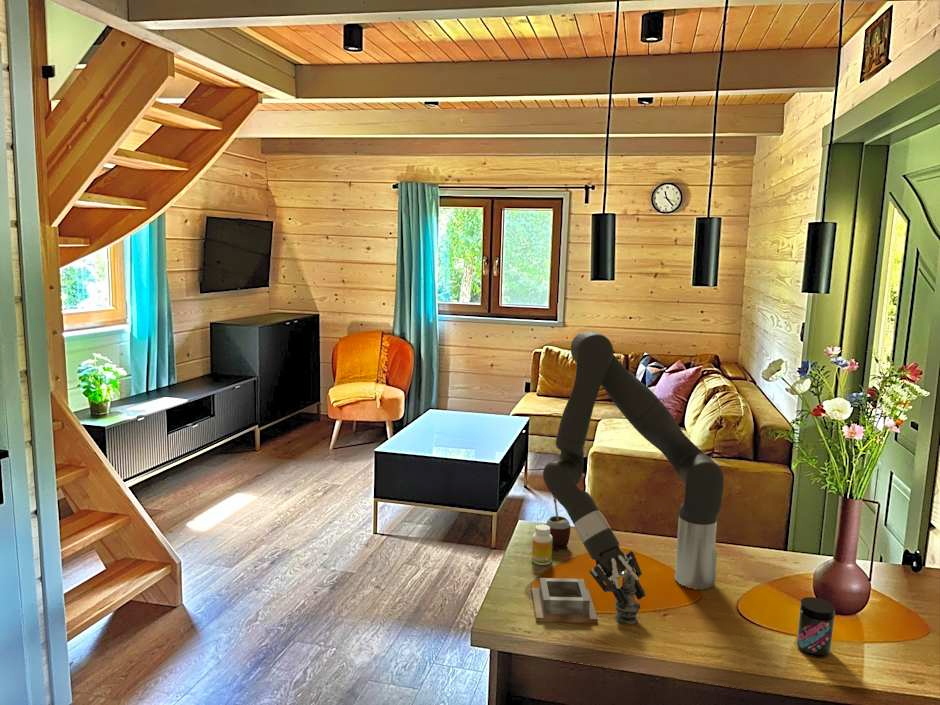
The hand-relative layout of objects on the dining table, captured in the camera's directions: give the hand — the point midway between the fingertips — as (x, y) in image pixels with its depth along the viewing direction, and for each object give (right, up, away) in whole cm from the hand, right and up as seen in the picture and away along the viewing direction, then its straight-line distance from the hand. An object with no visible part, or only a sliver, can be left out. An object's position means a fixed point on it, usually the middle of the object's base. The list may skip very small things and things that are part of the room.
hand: (634, 601), depth 165 cm
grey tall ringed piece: (-1, -5, +2) cm, 6 cm away
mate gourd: (-13, +2, +41) cm, 43 cm away
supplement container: (+37, -8, -9) cm, 38 cm away
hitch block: (-15, -4, +7) cm, 17 cm away
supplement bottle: (-18, 0, +31) cm, 36 cm away
